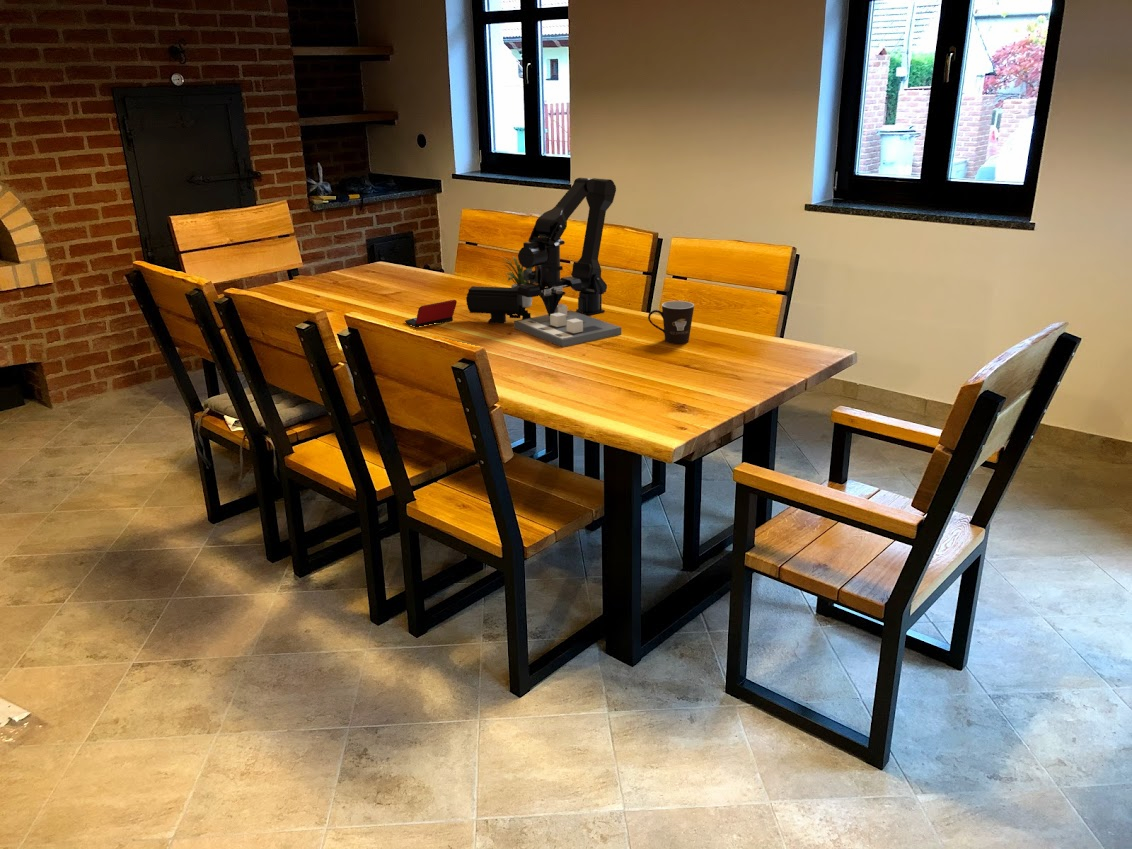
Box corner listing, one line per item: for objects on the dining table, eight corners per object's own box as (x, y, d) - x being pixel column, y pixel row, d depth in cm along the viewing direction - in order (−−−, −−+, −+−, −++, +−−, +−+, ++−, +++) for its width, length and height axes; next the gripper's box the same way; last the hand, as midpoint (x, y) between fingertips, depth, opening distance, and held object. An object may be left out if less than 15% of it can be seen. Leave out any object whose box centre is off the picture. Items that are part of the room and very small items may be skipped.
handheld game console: (440, 316, 274) (439, 292, 271) (459, 324, 266) (457, 299, 263) (403, 324, 267) (401, 299, 264) (421, 331, 259) (419, 306, 256)
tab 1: (561, 313, 265) (560, 303, 264) (567, 315, 263) (567, 305, 262) (551, 315, 263) (551, 305, 262) (558, 317, 261) (558, 307, 260)
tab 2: (559, 322, 256) (559, 312, 255) (566, 325, 253) (566, 314, 252) (550, 324, 254) (550, 314, 253) (556, 327, 252) (556, 316, 251)
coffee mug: (695, 337, 248) (697, 302, 245) (689, 346, 241) (690, 309, 237) (654, 334, 252) (655, 299, 248) (646, 343, 244) (647, 306, 241)
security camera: (527, 326, 261) (526, 292, 257) (466, 324, 264) (464, 290, 261) (533, 320, 267) (532, 287, 264) (472, 318, 271) (471, 285, 267)
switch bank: (570, 316, 271) (570, 309, 270) (621, 334, 252) (621, 326, 252) (514, 327, 260) (514, 320, 259) (562, 347, 242) (562, 339, 241)
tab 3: (576, 328, 250) (576, 318, 249) (583, 331, 247) (582, 320, 246) (566, 330, 248) (566, 320, 247) (573, 333, 246) (573, 322, 244)
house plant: (488, 308, 281) (486, 256, 275) (507, 298, 292) (505, 248, 286) (530, 312, 276) (529, 259, 269) (548, 302, 287) (547, 250, 281)
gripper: (560, 254, 267) (560, 305, 272) (506, 261, 257) (508, 315, 262) (582, 260, 258) (582, 313, 264) (528, 268, 248) (529, 323, 254)
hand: (550, 316), depth 261 cm, fingers closed
